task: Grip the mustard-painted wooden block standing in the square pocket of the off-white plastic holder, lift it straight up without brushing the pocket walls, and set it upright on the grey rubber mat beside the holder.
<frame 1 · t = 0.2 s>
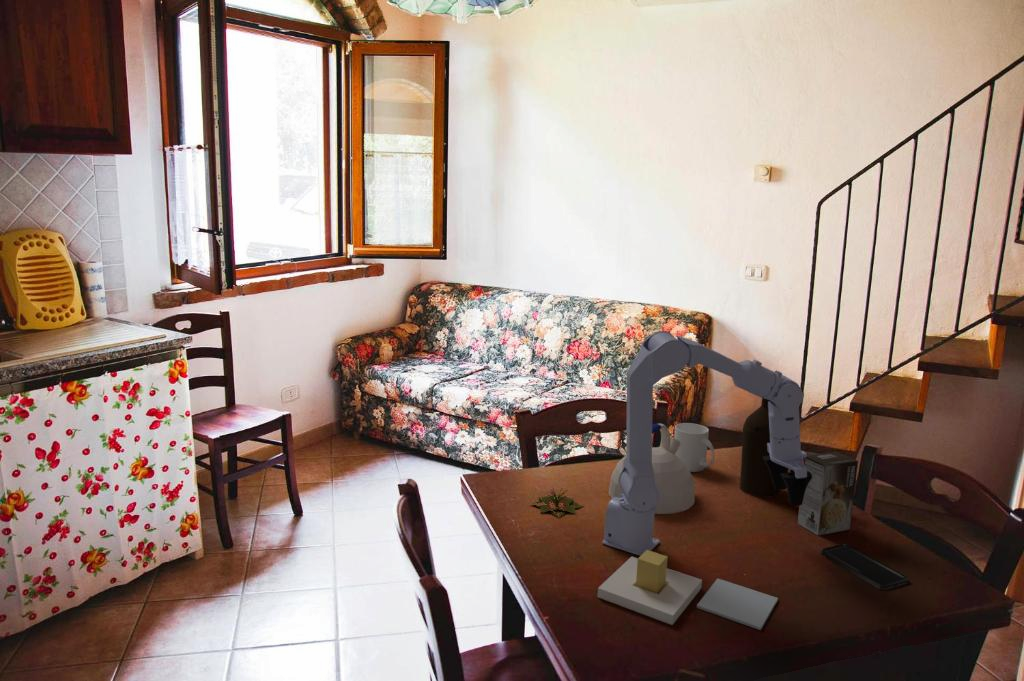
hand: (788, 496, 147), 11 cm above the table, tool pointing down, fingers open, 7 cm apart
olive oil: (759, 490, 177), on the table
green leafy plant: (556, 509, 164), on the table
phone: (862, 569, 141), on the table
mat: (737, 604, 127), on the table
block: (650, 593, 129), resting in pocket holder
soda can: (804, 504, 169), on the table
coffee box: (823, 527, 158), on the table
mug: (693, 469, 189), on the table
kettle: (651, 496, 171), on the table
pocket holder: (650, 592, 129), on the table
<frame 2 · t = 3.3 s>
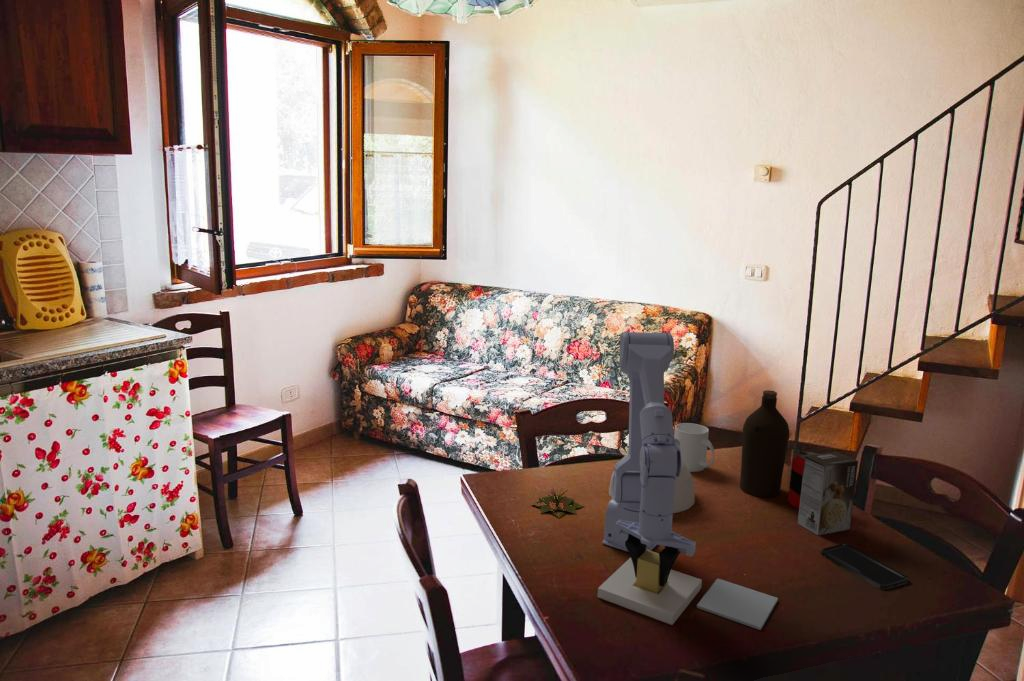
hand: (651, 579, 129), 3 cm above the table, tool pointing down, fingers closed on block, 4 cm apart
block: (650, 592, 129), resting in pocket holder, touching gripper
everything else where it was.
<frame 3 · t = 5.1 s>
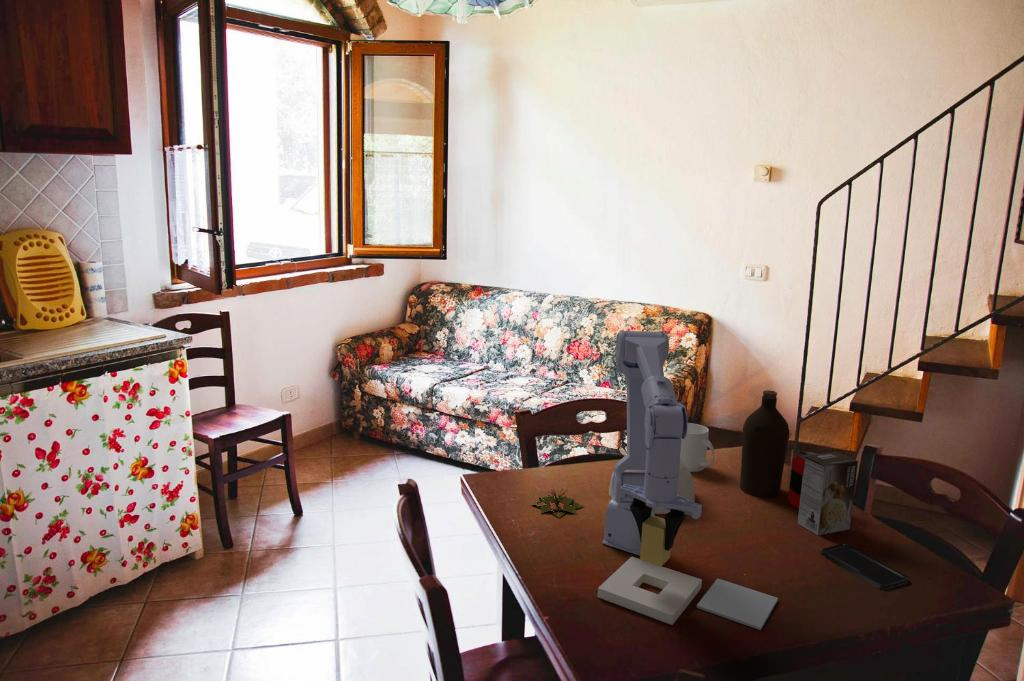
hand: (656, 544, 127), 10 cm above the table, tool pointing down, fingers closed on block, 4 cm apart
block: (655, 558, 128), point 7 cm above the table, touching gripper
everything else where it was.
when the fingers open (4 cm above the table, at t = 7.4 s): block stays where it is, resting on mat.
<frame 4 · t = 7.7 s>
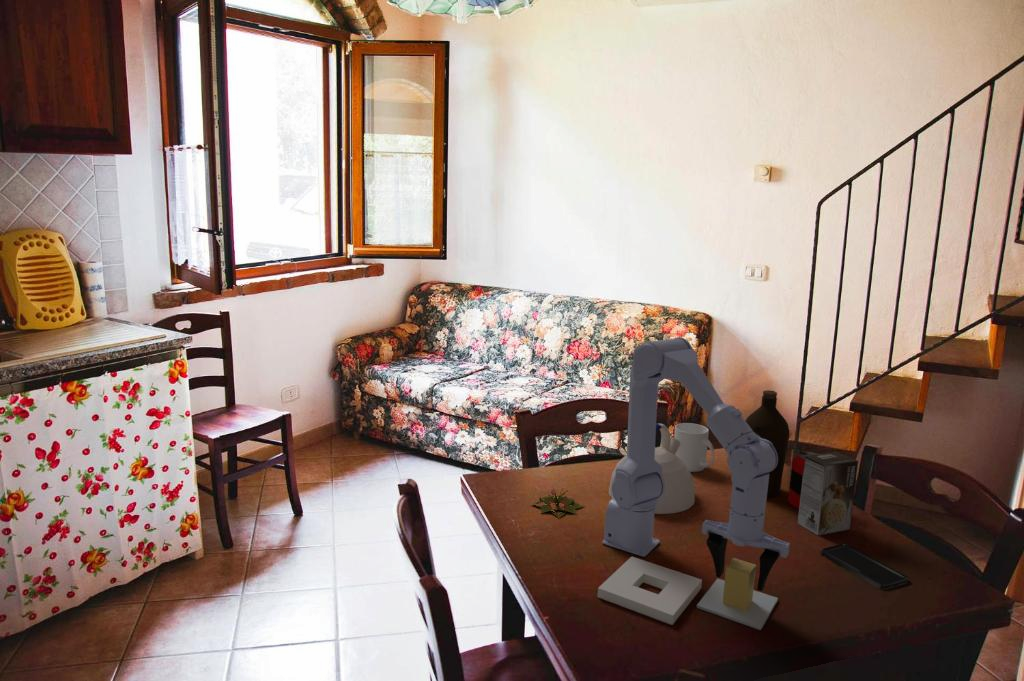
hand: (740, 581, 126), 4 cm above the table, tool pointing down, fingers open, 7 cm apart
block: (737, 602, 126), resting on mat
everything else where it was.
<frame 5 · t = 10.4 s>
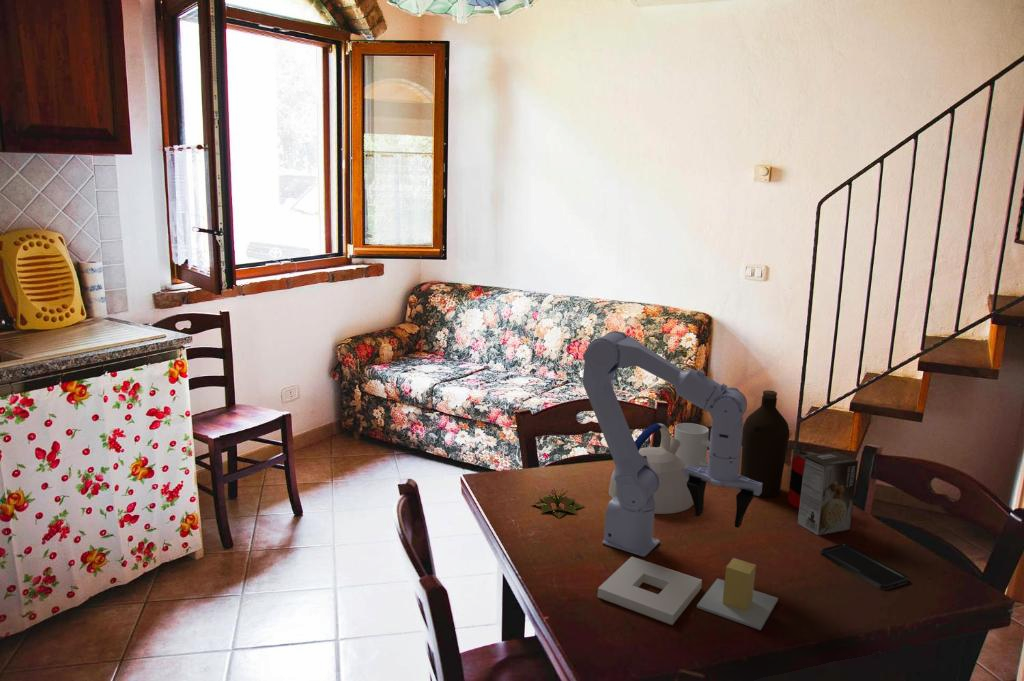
hand: (718, 520, 138), 9 cm above the table, tool pointing down, fingers open, 7 cm apart
nothing on the table moved.
at the end: block 0.2 cm off-centre on the mat, point 0.5 cm above the mat's base; block tilted 0°; the gripper is holding nothing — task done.
